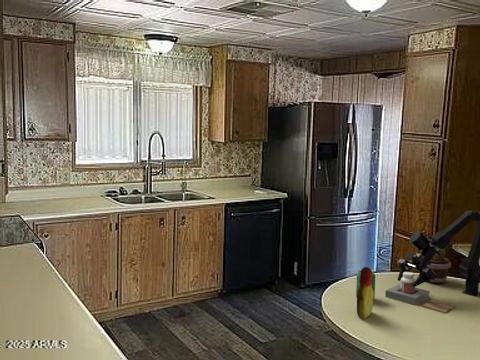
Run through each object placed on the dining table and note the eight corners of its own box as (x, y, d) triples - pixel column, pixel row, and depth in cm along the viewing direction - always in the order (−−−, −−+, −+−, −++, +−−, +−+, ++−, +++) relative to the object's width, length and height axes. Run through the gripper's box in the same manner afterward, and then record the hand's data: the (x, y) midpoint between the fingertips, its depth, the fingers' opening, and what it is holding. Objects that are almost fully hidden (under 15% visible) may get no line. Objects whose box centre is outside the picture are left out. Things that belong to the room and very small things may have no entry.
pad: (431, 301, 216) (431, 300, 216) (454, 307, 209) (454, 306, 209) (421, 306, 209) (421, 305, 209) (445, 313, 202) (445, 311, 202)
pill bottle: (417, 298, 220) (418, 274, 219) (408, 300, 217) (410, 276, 216) (405, 294, 225) (407, 270, 224) (397, 296, 222) (398, 272, 221)
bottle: (368, 321, 192) (371, 272, 190) (352, 318, 194) (354, 269, 192) (374, 311, 202) (377, 264, 200) (359, 309, 205) (361, 262, 203)
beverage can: (354, 300, 216) (355, 273, 215) (357, 294, 223) (358, 269, 222) (373, 302, 213) (374, 276, 212) (375, 297, 220) (376, 271, 219)
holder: (400, 289, 231) (400, 283, 231) (429, 297, 221) (429, 291, 221) (385, 296, 221) (385, 290, 221) (415, 304, 211) (415, 298, 211)
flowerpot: (412, 277, 252) (414, 238, 250) (440, 276, 254) (443, 238, 252) (426, 285, 238) (428, 245, 236) (456, 285, 239) (458, 245, 237)
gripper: (401, 241, 229) (382, 266, 225) (432, 250, 212) (412, 278, 208) (413, 256, 233) (394, 281, 229) (444, 266, 216) (424, 293, 213)
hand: (405, 283), depth 220 cm, fingers open, 9 cm apart
